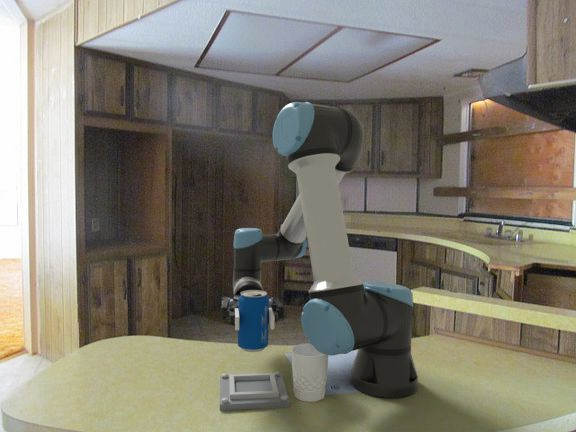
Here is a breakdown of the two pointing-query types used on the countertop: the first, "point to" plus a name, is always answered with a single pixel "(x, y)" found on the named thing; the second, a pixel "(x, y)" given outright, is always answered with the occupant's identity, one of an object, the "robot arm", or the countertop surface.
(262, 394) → the socket plate
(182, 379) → the countertop surface
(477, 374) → the countertop surface
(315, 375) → the white cup
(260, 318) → the beverage can
